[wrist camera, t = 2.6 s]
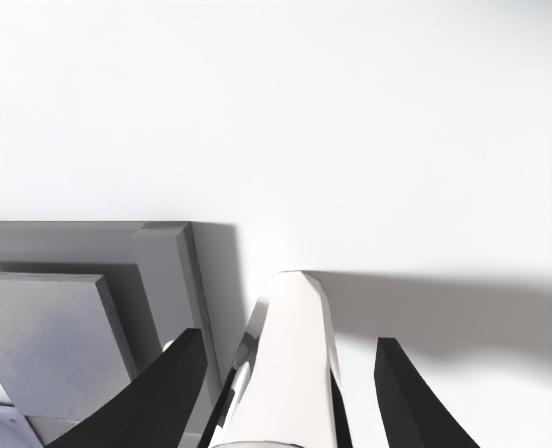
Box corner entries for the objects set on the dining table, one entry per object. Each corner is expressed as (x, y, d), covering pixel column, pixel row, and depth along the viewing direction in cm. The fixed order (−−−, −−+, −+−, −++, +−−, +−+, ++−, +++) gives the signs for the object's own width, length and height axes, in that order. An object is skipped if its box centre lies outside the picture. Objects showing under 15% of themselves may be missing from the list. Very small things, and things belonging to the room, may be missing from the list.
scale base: (225, 408, 19) (216, 439, 17) (44, 392, 20) (20, 419, 19) (190, 221, 13) (173, 239, 12) (-52, 221, 15) (-96, 237, 13)
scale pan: (153, 416, 17) (147, 427, 16) (29, 405, 18) (20, 415, 17) (104, 274, 13) (94, 283, 12) (-52, 270, 14) (-67, 278, 13)
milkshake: (241, 333, 16) (144, 656, 7) (254, 249, 14) (132, 566, 5) (324, 351, 16) (337, 708, 7) (351, 268, 13) (427, 641, 4)
